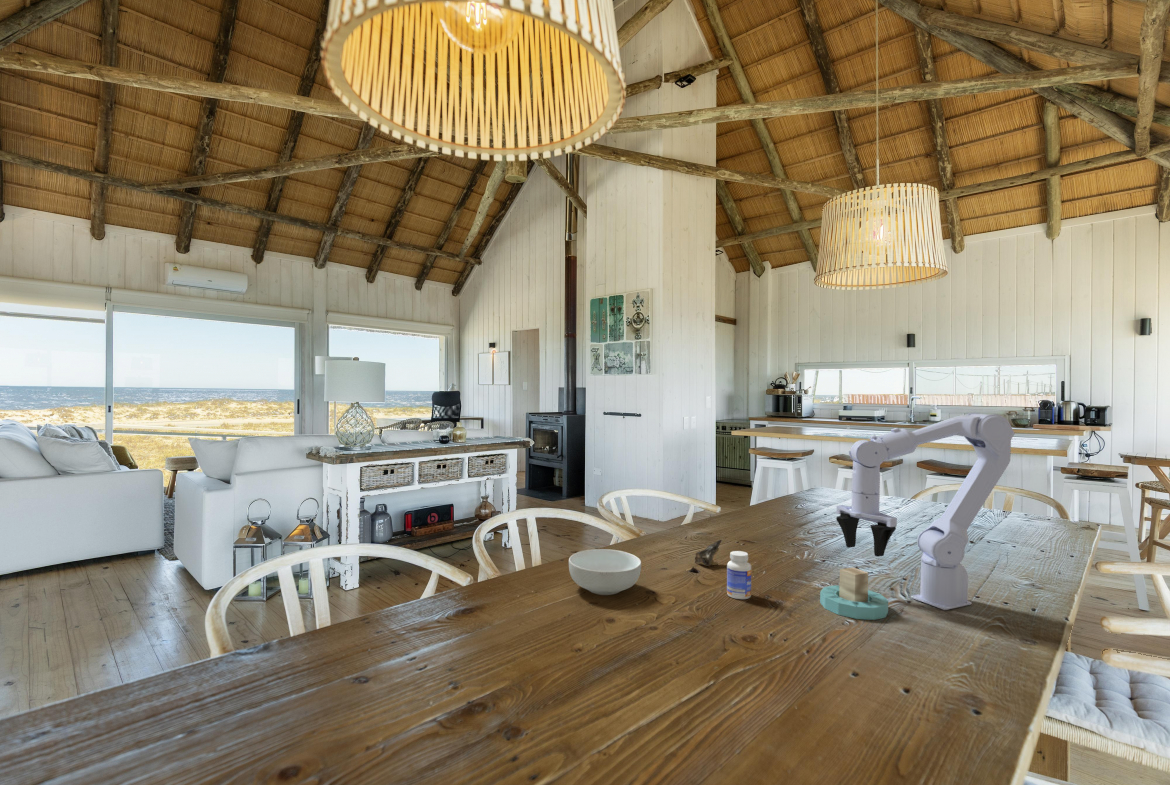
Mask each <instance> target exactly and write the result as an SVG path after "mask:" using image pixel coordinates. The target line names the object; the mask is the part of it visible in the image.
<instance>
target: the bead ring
mask: <svg viewBox="0 0 1170 785" xmlns="http://www.w3.org/2000/svg"><path fill="white" fill-rule="evenodd" d="M839 586H840V584H837V585H836V584H835V585H830V586H829V585H828V586H824V587H823V588H822V589H821V590H820V592H819V593H820V594H819V595H820V596H819V598H820V599H819V602H820V605H821V606H822V607H823V608H824V609H825V610H827V611H829V612H831V613H834V614H836V615H838V616H842V617H847V618H850V619H855V620H867V621H868V620H871V621H875V620H879V619H884V618H887V615H888V614H889V600H888V599H887V598H886V597H885V596H884V595H883V594H881V593H878V592H876V591H873V590H870V589H868V602H854V601H850V600H845V599H843V598H841V597H839Z"/></svg>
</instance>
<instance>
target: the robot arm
mask: <svg viewBox="0 0 1170 785" xmlns="http://www.w3.org/2000/svg"><path fill="white" fill-rule="evenodd" d="M1014 435H1015V432H1014V429H1013V427H1012V426H1011V423H1010V422H1009V420H1008V419H1007V418H1006V417H1005V416H1003V415H1001V414H998V413H997V414H996V413H995V414H994V413H990V414H987V413H986V414H985V413H980V412H979V413H978V412H970V413H967V414H966V415H965V414H961V415H957V416H952V417H950V418H947V419H945V420H942V421H939V422H936V423H933V424H929V425H927V426H924V427H920V428H917V429H916V430H912V431H910V430H908V429H905V428H901V429H900V428H898V427H895V428H891V429H890V432H888V433H884V434H881V435H877V436H876V435H871V436H870V440H866V439H861V440H860V439H859V440H857V441H855V442H854V444H852V445H851V448H850V450H848V455H849V457H850V459H851V460H852V472H851V473H852V475H851V480H852V481H851V506H847V505H843V504H840V505H836V514H837V515H839V516H836V521H837V523H838V525H839V526H840V529H841V532H842V535H843V538H844V543H845V546H846V548H848V549H849V548H854V547H855V546H856V543H857V542H856V540H857V529H858V525H859V522H860V520H863V521H868V522H872V523H876V524H871V525H870V529H871V533H872V536H873V552H874V556H875V557H878V558H879V557H884V555H885V552H886V549H887V546H888V543H889V540H890V539H891V537H892V535H893V534H894V532H896V530H897V526H898V525H897V524H898V523H897V522H898V517H896V516H895V517H894V516H891V515H888V514H885V513H883V512H880V499H881V498H880V491H881V490H880V489H881V487H880V486H881V473H880V472H881V468H880V466H881V465H882V463H883V462H884V461H889V460H893V459H895V458H899V457H903V456H906V455H909V454H912V453H914V452H915V451H916V449H917V447H918V446H920V445H923V444H927V443H930V442H934V441H938V440H942V439H946V438H949V437H954V436H959V437H964V438H965V440H967V442H968V443H969V444H971V446H972V447H973V450H974V452H975V455H976V457H977V459H976V461H975V462H974V464H973V466H972V467H971V469H970V470H969V472H968V474H967V476H966V477H965V478H964V480H963V482H961V485H960V486H959V488H958V490H957V491H956V493H955V495H954V496H953V497H952V499H951V501H950V503H949V504H948V506H947V507H946V509H945V511H944V512H943V513H942V515H941V516H940V517H939V518H937V519H935V520H933V521H931V523H930V525H929V526H928V527H926V528H925V529H924V530H922V531H921V532H920V533H919V534H918V536H917V539H916V544H917V547H918V549H919V550H920V551H921V552H922V553H921V554H922V555H921V556H920V589H919V590H920V593H918V594H914V595H911V599H913V600H916V601H919V602H922V603H924V604H926V605H930V606H932V607H934V608H938V609H941V610H943V611H948V610H952V609H957V608H961V607H966V606H970V605H972V601H970V600H968V599H969V597H968V596H969V595H968V594H969V592H968V588H969V574H968V571H967V569H966V568H965V566H964V565H963V564H962V561H963V560H964V558H965V551H966V546H967V544H968V543H969V536H968V529H969V527H970V526H971V525H972V523H973V521H974V520H975V518H976V516H977V515H978V514H979V512H980V511H981V509H982V507H983V505H984V504H985V502H986V501H987V499H988V498H989V496H990V495H991V493H992V492H993V490H994V488H995V487H996V485H997V484H998V482H999V481H1000V479H1001V477H1002V476H1003V474H1004V473H1005V470H1006V469H1007V468H1008V466H1009V464H1010V462H1011V452H1012V451H1011V450H1012V447H1011V446H1012V439H1013V437H1014Z"/></svg>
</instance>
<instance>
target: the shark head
mask: <svg viewBox="0 0 1170 785" xmlns="http://www.w3.org/2000/svg"><path fill="white" fill-rule="evenodd" d="M721 542H722V539H719V540H717V541H715V542H714V543H712V544H710V545H708V546H706V547H705V549H703V550H701V551H700V550H699V551H697V552H695V557H694V563H696V564H697V565H704V566H706V567H709V566H718V565H719V562H718V561H715V560H714V556H715V555H717V553H719V552H720V548H719V547H720V545H721Z"/></svg>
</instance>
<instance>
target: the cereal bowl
mask: <svg viewBox="0 0 1170 785" xmlns="http://www.w3.org/2000/svg"><path fill="white" fill-rule="evenodd" d="M641 569H642V561H641V559H640V558H639V556H636V555H634V554H632V553H629V552H626V551H623V550H618V549H617V550H616V549H609V548H607V549H606V548H605V549H604V548H601V549H600V548H598V549H586V550H580V551H578V552H576V553H573V554H572V555H570V556H569V558H568V571H569V574H570V575H569V576H570V577H571V579H572V581H573V582H575V584H577V585H578V586H579V587H581V588H583V589H585V590H587V591H589V592H591V593H592V594H595V595H601V596H611V595H616V594H619V593H620V592H623V591H625V590H628V589H630V588H632V587H633V586H634V585H635V584H636V583H637V582H638V580H639V579H640V578H639V577H640V576H641V575H640V574H641V571H642V570H641Z"/></svg>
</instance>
